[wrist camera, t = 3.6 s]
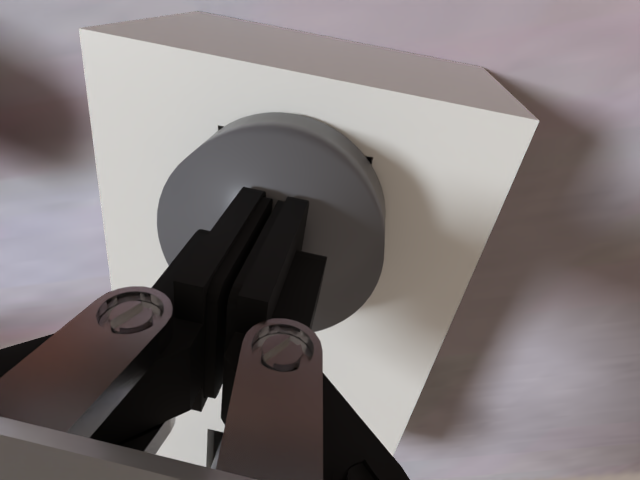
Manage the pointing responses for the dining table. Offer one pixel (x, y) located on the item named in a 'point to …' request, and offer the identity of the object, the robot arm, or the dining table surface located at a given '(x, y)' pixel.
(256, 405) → the robot arm
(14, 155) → the dining table surface
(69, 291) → the dining table surface
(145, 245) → the control box
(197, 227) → the knob near
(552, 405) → the dining table surface
